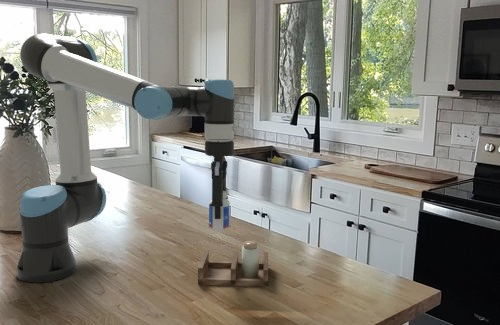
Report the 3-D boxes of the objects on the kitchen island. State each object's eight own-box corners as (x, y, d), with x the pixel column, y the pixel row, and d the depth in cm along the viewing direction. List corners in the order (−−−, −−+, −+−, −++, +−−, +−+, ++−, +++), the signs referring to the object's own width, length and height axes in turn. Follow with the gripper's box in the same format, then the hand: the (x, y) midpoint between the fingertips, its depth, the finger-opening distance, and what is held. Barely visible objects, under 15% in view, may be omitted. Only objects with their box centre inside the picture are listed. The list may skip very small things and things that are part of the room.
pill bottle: (210, 231, 125) (210, 194, 124) (207, 225, 131) (207, 190, 129) (231, 230, 127) (231, 193, 125) (226, 224, 132) (227, 189, 130)
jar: (241, 278, 128) (241, 245, 127) (241, 272, 133) (242, 240, 131) (258, 279, 128) (259, 246, 127) (258, 272, 133) (259, 240, 131)
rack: (197, 288, 125) (197, 268, 124) (204, 269, 138) (204, 250, 137) (267, 290, 124) (268, 269, 123) (267, 271, 137) (268, 252, 136)
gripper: (231, 144, 116) (230, 237, 119) (236, 136, 134) (235, 217, 138) (200, 143, 116) (200, 237, 120) (209, 136, 134) (209, 217, 138)
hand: (219, 226), depth 129 cm, fingers closed on pill bottle, 5 cm apart
